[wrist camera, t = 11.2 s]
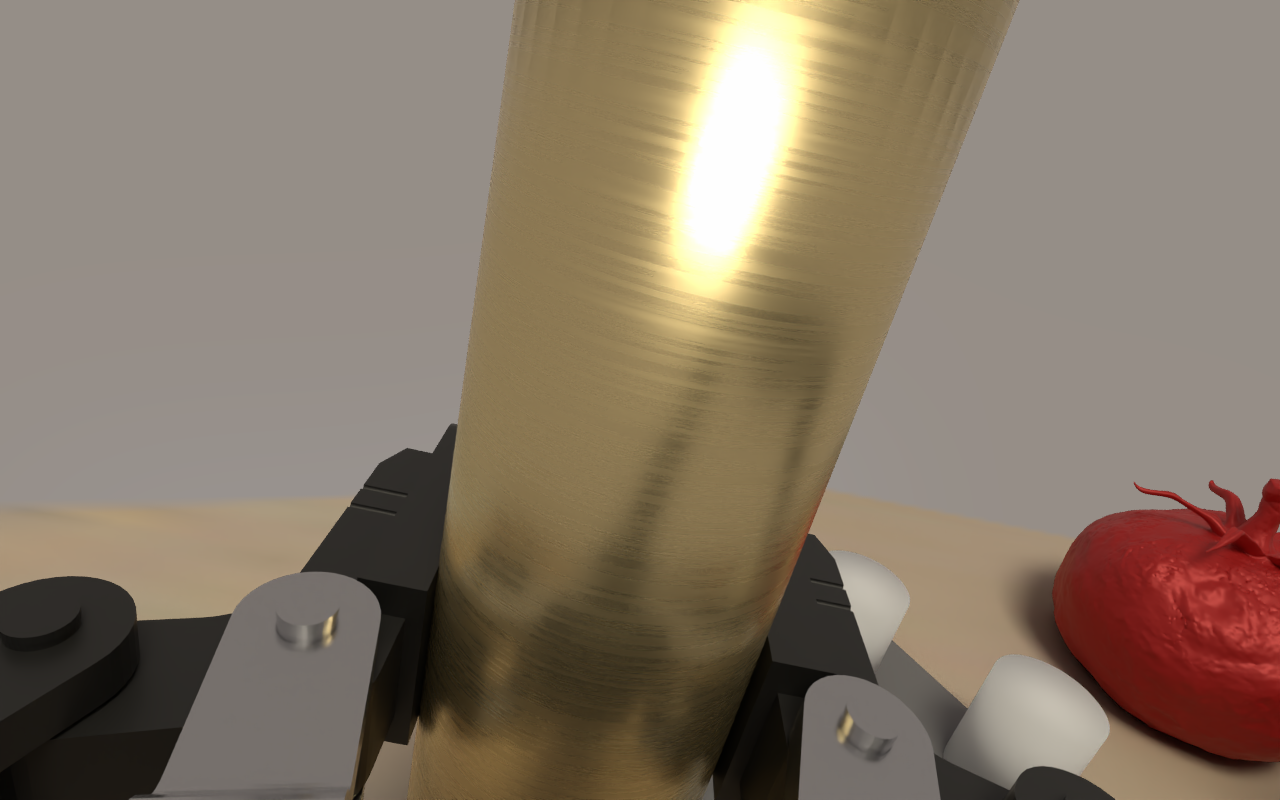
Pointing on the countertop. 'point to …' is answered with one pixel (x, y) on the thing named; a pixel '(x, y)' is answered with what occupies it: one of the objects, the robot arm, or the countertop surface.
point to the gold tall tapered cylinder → (670, 365)
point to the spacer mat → (1003, 707)
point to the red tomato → (1183, 619)
